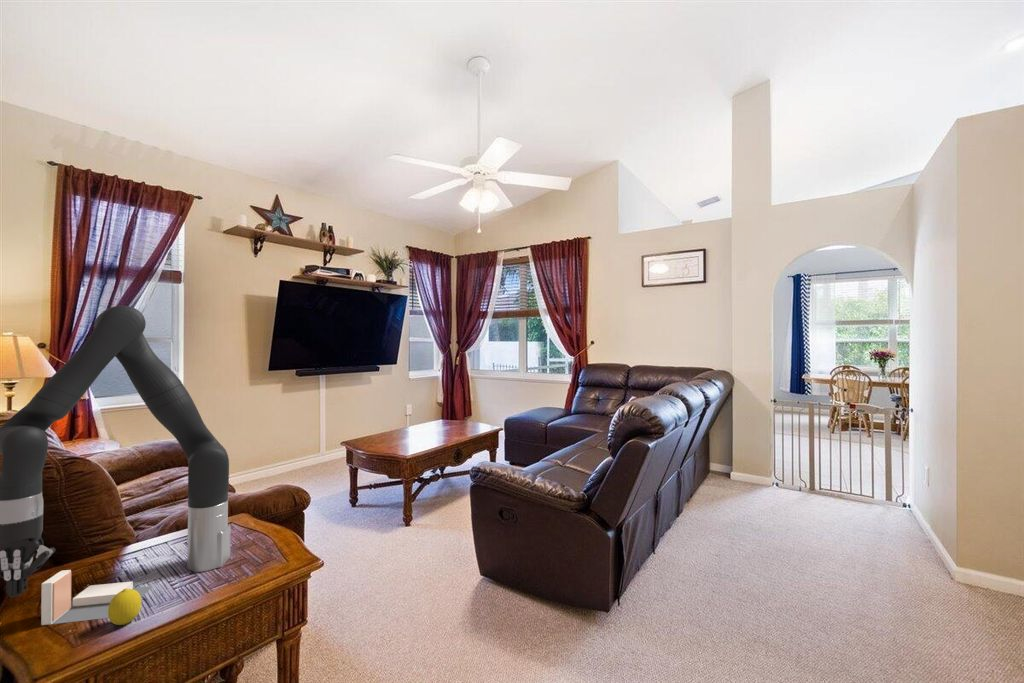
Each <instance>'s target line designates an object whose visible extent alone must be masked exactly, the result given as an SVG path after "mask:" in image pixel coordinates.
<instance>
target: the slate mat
mask: <svg viewBox="0 0 1024 683" xmlns="http://www.w3.org/2000/svg"><path fill="white" fill-rule="evenodd" d="M153 587H154V586H153V585H149V586H148V585H147V586H138V587H133V590H136V591H137V592H138V593H139V594H140V596H141V599H142V598H143V597H144V596H145V595H146V594H147V593H148V592H150V590H151V589H152V588H153ZM109 605H110V603H107V604H98V605H88V606H78V607H76V606H73V600H71V608H70V610H68V611H67V612H66V613H65V614H63V615H62V616H61V617H60V618H58V619H57V620H56V621H55V622H53V623H52V624H48V625H57V624H59V625H60V624H67V623H68V624H69V623H74V622H86V621H93V620H94V621H95V620H102V619H103V620H104V619H109V617H108V608H109Z"/></svg>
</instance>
